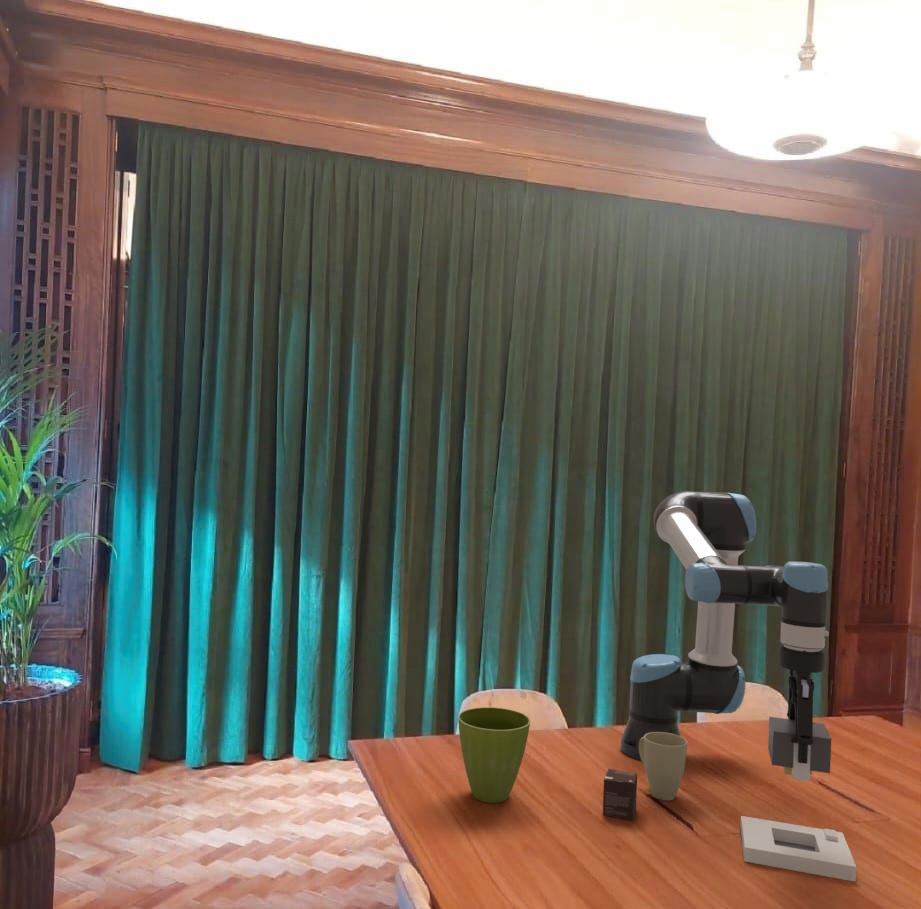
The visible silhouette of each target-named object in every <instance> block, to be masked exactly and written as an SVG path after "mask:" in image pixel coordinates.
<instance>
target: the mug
mask: <svg viewBox="0 0 921 909" xmlns="http://www.w3.org/2000/svg"><path fill="white" fill-rule="evenodd" d="M687 751H688V740H687V739H686V738H685V737H683V736H678V735H675V734H671V733H665V732H651V733H647V734H645V735H644V737H642V738H641V739H640V741H639V754H640V758H641V760H640V761H641V762H642V765H643V767H644V768H645V775H646V778H647V783H648V786H649V790H650V793H651V796H652V797H653V798H655V799H658V800H660V799H661V801H672V800H674V799H675V798H676V796H677V793H678V790H679V787H680V784H681V782H682V780H683V777H684V773H685V766H686V759H687Z"/></svg>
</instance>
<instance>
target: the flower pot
mask: <svg viewBox="0 0 921 909" xmlns="http://www.w3.org/2000/svg"><path fill="white" fill-rule="evenodd" d="M458 714H459V715H458V717H457V720H458V730H459V740H460V748H461V754H462V758H463V759H462V760H463V764H464V768H465V772H466V776H467V779H468V783H469V787H470V790H471V793H472V795H473V797H474V798H475V799H476V800H478V801H480V802H482V803H483V802H484V803H491V804H494V803H495V804H496V803H503V802H505V801H506V800H508V799H509V796H510V795H511V792H512V790H513V788H514V785H515V782H516V779H517V777H518V774H519V770H520V767H521V765H522V762H523V758H524V754H525V750H526V747H527V741H528V736H529V730H530V725H531V719H530V717H529V716H527V715H526V714H524V713H522V712H519V711H516V710H513V709H508V708H502V707H475V708H469V709H465V710H464V711H462V712H460V713H458Z"/></svg>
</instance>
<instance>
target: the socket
mask: <svg viewBox="0 0 921 909" xmlns="http://www.w3.org/2000/svg"><path fill="white" fill-rule="evenodd" d="M740 836H741V845H742V854H743V862H745V863H751V864H755V865H756V864H757V865H762V866H765V867H766V866H767V867H773V868H779V869H785V870H789V871H794V872H800V873H805V874H811V875H816V876H822V877H828V878H833V879H839V880H845V881H849V882H857V865H856V862H855V860H854V857H853V855H852V852H851V850H850V847H849V846H848V843H847V840H846V838H845V835H844V832H841V831H836V830H835V829H830V828H816V827H811V826H806V825H798V824H792V823H787V822H781V821H773V820H768V819H763V818H756V817H751V816H744V815H741V816H740Z"/></svg>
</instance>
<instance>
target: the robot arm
mask: <svg viewBox="0 0 921 909" xmlns="http://www.w3.org/2000/svg"><path fill="white" fill-rule="evenodd" d="M753 506H754V505H753V504H752V501H751V500H750V499H749V498H748V497H747V496H746V495H745V494H744V495H743V494H739V493H731V492H720V491H719V492H715V491H711V492H709V491H691V490H684V491H677V492H674V493H672V494H670V495H668V496H667V497H665V498H664V499H663V500H661V502H660V503H659V504H658V506H657V507H656V509H655V512H654V514H653V526H654V530H655V531H656V533H657V535H658V537H659V538H660V540H662V541H663V542H664V543H666V544H669V546H670V547H671V549H672V550H673V552H674V553H675V555H676V556H677V558H678V559H679V561H680V562H681V564H682V566H683V568H684V569H685V576H684V589H685V591H686V595H687V597H688V598H689V599H690V600H691V601H693V602H697V616H696V627H695V628H696V630H695V644H694V646H695V647H694V649H692V650H691V651H690V652H688V655H687V662H682V661H681V659H680V657H679V656H677V655H673V654H665V653H658V654H657V653H655V654H647V655H642V656H640V657H638V658H636V659H635V660H633V662H632V664H631V665H632V666H631V670H630V671H631V672H630V677H629V678H630V692H629V694H630V695H629V714H628V720H627V722H626V726H625V728H624V731H623V733H622V736H621V739H620V750H621V752H622V753H624V754H625V756H626V755H627V756H628V757H630V758H633V759H636V760H640V761H642V760H641V758H640V754H639V741H640V739H641V738H642V737H644V735H645V734H647V733H651V732H665V733H671V734H675V735H678V736H681V731H680V727H679V723H678V721H679V712H687V713H708V714H715V715H721V714H732V713H733V714H734V713H735V712H736V711H737V710H739V709H740V707H741V705H742V703H743V701H744V698H745V694H746V693H745V692H746V681H745V678H746V677H745V672H744V669H743V668H742V667H741V666H739V665H738V659H737V658H736V656H734V654H733V653H732V652H733V650H732V649H733V636H734V635H733V634H734V624H735V622H734V621H735V609H736V607H735V606H736V604H737V605H738V604H740V605H756V606H757V605H758V606H770V607H771V606H772V607H773V606H774V607H776V606H777V607H780V608H781V619H780V620H781V621H780V637H779V639H780V640H779V641H780V643H781V644H783V645H781V647H779V648H780V650H779V653H780V654H779V655H780V656H779V664H780V666H781V667H782V668H784V669H786V670H789V674H790V675H788V681H787V682H788V701H787V702H788V703H787V712H786V716H787V719H792V720H795V739H793V738H792V739H791V743H794V752H793V768H792V776H791V777H792V780H793V781H794V780H795V781H800V782H801V781H802V782H808V783H810V780H811V779H810V778H811V774H810V755H811V745H812V744H813V722H814V716H813V715H814V714H813V712H814V709H813V708H814V705H813V704H814V691H815V682H814V681H813V678H811V675H812V673H815V674H817V673H821V672H824V670H825V662H826V661H825V658H826V652H825V651H824V650H823V649H824V648H825V647H826V638H825V637H829V636H830V632H829V631H828V630H826V625H827V610H828V608H827V604H828V590H829V583H828V568H827V567H826V566H825V565H823V564H821V563H815V562H807V561H795V560H794V561H787V562H786V563H785V564H784V566H783V565H774V564H773V565H772V564H771V565H765V566H763V565H762V566H759V565H743V564H742V565H741V564H738V563H739V557H740V556H741V554H743V553H744V552H745V551H746V546H747V544H749V543H750V542H753V541H754V539H755V536H756V533H757V516H756V512H755V509H754V507H753ZM801 735H805V736H801ZM806 736H807V737H806ZM681 737H682V736H681Z"/></svg>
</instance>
